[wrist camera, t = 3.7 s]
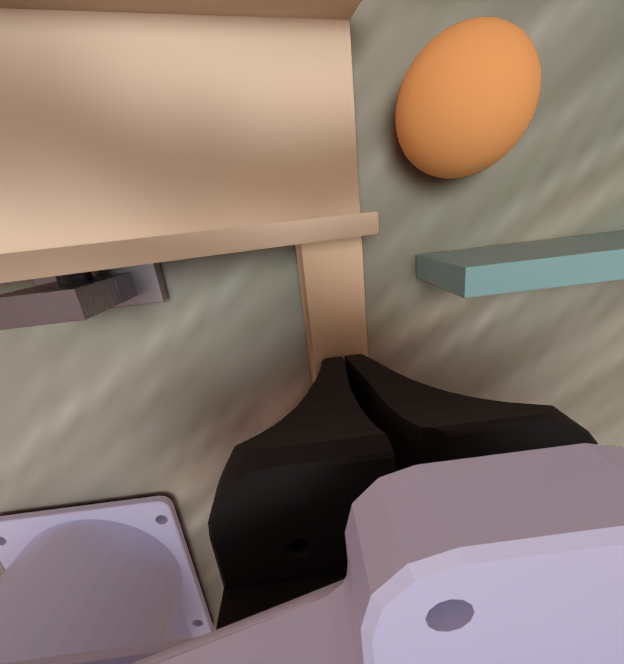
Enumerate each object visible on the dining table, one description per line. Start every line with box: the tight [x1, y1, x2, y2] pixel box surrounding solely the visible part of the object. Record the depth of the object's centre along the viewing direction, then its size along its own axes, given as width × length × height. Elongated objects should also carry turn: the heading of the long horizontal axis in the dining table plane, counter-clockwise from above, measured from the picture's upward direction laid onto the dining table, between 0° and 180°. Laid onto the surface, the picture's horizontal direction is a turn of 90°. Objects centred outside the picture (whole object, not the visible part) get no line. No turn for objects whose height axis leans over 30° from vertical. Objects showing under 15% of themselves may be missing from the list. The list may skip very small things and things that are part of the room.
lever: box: [0, 0, 379, 385], centre depth 8 cm, size 14×18×3 cm
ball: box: [395, 17, 541, 179], centre depth 9 cm, size 4×4×4 cm
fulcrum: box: [0, 263, 169, 330], centre depth 8 cm, size 9×4×3 cm, turn 6°
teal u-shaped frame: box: [416, 230, 624, 298], centre depth 9 cm, size 10×10×4 cm
